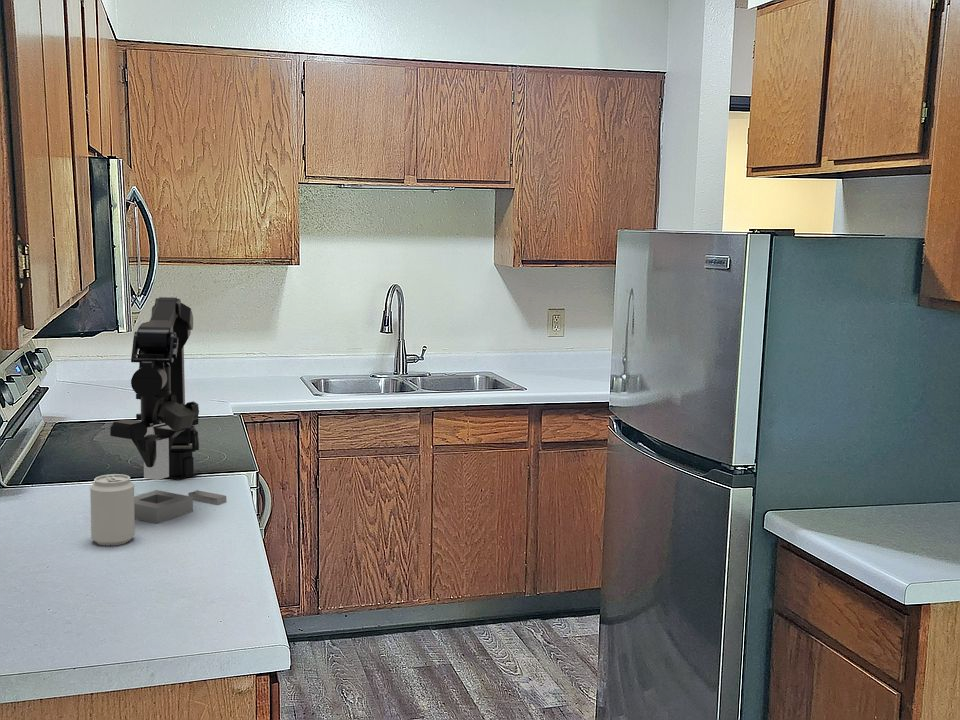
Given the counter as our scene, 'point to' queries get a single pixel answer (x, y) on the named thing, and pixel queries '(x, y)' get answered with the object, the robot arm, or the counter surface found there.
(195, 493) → the flat bit
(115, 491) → the can
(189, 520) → the counter surface
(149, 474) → the square bit
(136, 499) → the bore block
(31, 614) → the counter surface
